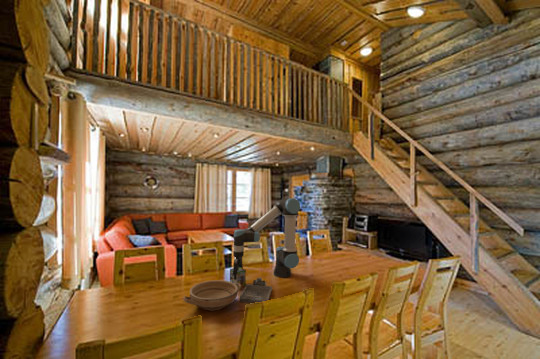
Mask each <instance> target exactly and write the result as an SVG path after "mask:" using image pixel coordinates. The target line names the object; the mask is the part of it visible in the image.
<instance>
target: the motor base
mask: <svg viewBox="0 0 540 359" xmlns="http://www.w3.org/2000/svg"><path fill="white" fill-rule="evenodd" d="M262 279H263V278H262V277H256V279H253V281H252V284H249V283H246V286H244V288H243V289H242V292H241V293H240V295H239V300H238V301H239V303H246V304H247V303H249V304H255V303H254V302H262V301H267V300H269V301H270V298H271V296H272V295H271V294H272V291H273V286H272V285H267V281H266V280H262ZM250 302H251V303H250Z"/></svg>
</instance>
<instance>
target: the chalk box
mask: <svg viewBox="0 0 540 359" xmlns="http://www.w3.org/2000/svg"><path fill="white" fill-rule="evenodd" d="M232 273H233V268H230V269H229V282H232V283H233V277H234V275H232ZM237 274H238V277H237V283H239V284H240V285H241V288H242V287H246V284H247V280H246V279H247V270H246V269H245V268H244V267H243V268H241V267H238V272H237ZM238 287H239V286H238Z"/></svg>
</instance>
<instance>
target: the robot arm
mask: <svg viewBox="0 0 540 359" xmlns="http://www.w3.org/2000/svg"><path fill="white" fill-rule="evenodd" d="M300 209H301V204H300V202H299V200H298V199H296V198H294V197H282V198H281V199H280V200H279V201H278V202H276V203H275V204H274V205H273V207H272V208H271V209H270V210H269V211H267V212H266V213H265V214H263V215H262V216H261V217H260V218H258V219H257V221H255V222H253V224H251V225H250V226H248V228H245V229H240V228H239V229H238V228H237V229H235V230H234V231H233V232H234V233H233V245H232V247H233V257H234V258H235V259H234V260H233V262H234V263H233V268H232V269H233V273H232V275H234V277H233V283H234V284H236V283H237V277H238V274H237V272H238V267H241V268H243V269H244V266H243V257H244V250H245V243H258V242H260V240H261V235H260V234H261V233H260V231H261V230H262V229H263V228H265V227H266V226H267V225H268V224H270V223H271V222H272V221H273V220H274V219H276V218H277V217H278V216H279V215H282V216H283V217H284V242H283V243H284V245H283V246H277V247H276V249H275V266H274V269H273V276H275V277H277V278H285V279H286V278H290V277H291V276H292V269H294V268H296V267H297V266H298V265H299V263H300V258H299V255H298V249H297V248H296V230H297V229H296V228H297V227H296V226H297V224H296V222H297V221H296V220H297V218H296V217H298V216H299V214H298V213H299V211H300Z"/></svg>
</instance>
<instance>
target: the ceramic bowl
mask: <svg viewBox="0 0 540 359" xmlns="http://www.w3.org/2000/svg"><path fill="white" fill-rule="evenodd" d="M238 286H239V287H238ZM241 289H242V287H241V285H240V284H239V283H236V284H234V283H232V282H230V280H229V281H228V280H222V279H221V280H220V279H218V280H217V279H216V280H215V279H213V280H205V281H202V282H200V283H196V284H194V285H193V286H192V287H191V288H190V289H189V296H186V295H185V296H183V297H182V300H183V302H184V303H187V304H190V305H195V306H197V307H199V308H202V309H204V310H206V311H211V312H212V311H219V310H222V309H224V308H225V307H227V306H228V305H230V304H232V303H233V302H234V301H235V300H236V298H237V297H238V296H237V295H238V293H239V291H240V290H241Z"/></svg>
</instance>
